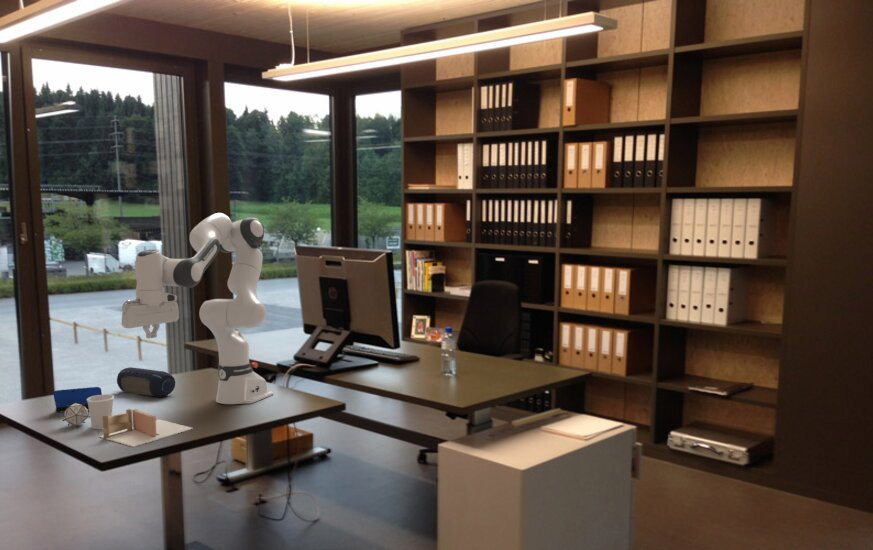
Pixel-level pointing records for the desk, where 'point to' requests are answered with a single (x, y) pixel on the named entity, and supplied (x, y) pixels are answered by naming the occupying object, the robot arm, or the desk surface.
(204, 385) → the desk surface
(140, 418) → the fence gate
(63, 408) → the handheld game console
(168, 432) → the card
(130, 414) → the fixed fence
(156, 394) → the portable speaker
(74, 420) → the game die
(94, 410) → the dixie cup
